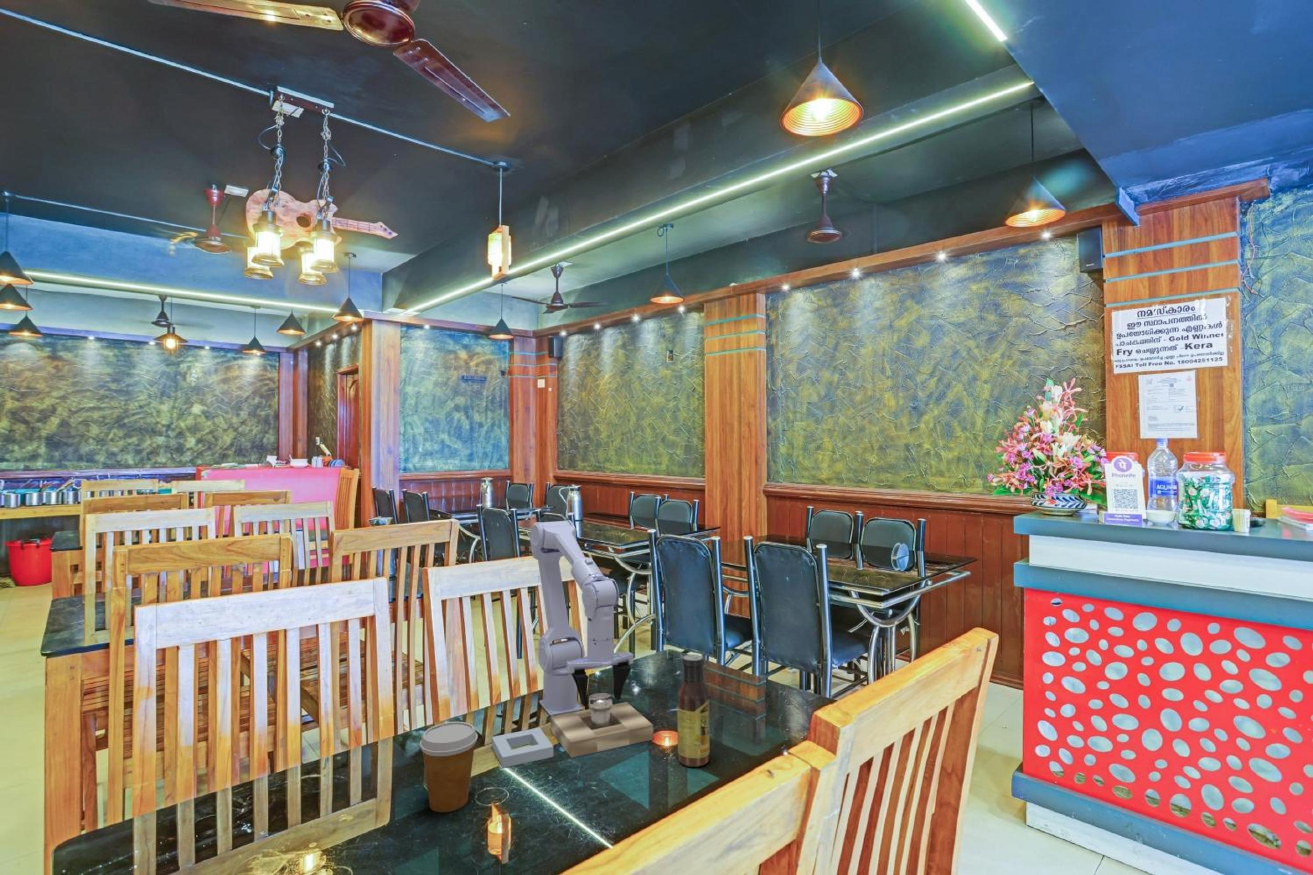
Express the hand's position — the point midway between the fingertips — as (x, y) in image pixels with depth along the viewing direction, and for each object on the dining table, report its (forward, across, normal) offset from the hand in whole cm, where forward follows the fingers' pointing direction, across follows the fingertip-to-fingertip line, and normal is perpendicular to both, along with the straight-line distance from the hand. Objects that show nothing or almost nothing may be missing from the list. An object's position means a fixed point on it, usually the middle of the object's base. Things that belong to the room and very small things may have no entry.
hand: (600, 701), depth 136 cm
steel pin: (+7, 0, 0) cm, 7 cm away
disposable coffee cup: (+7, -33, -13) cm, 36 cm away
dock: (+7, 0, 0) cm, 7 cm away
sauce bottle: (+7, +12, -19) cm, 24 cm away
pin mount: (+7, -17, 0) cm, 18 cm away
